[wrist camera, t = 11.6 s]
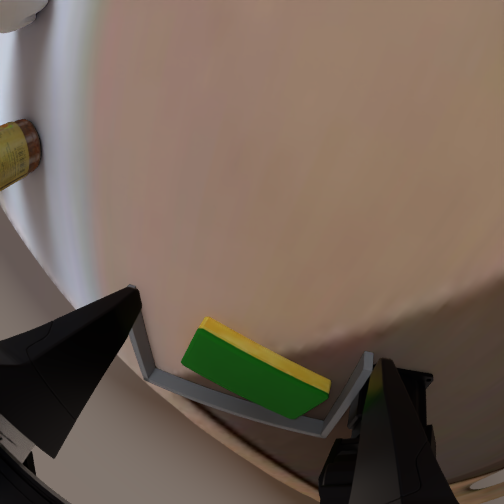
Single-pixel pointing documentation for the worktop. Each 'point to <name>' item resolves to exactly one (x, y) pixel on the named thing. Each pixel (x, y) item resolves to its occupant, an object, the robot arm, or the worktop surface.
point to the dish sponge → (254, 371)
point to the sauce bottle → (18, 151)
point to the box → (242, 406)
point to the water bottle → (18, 13)
